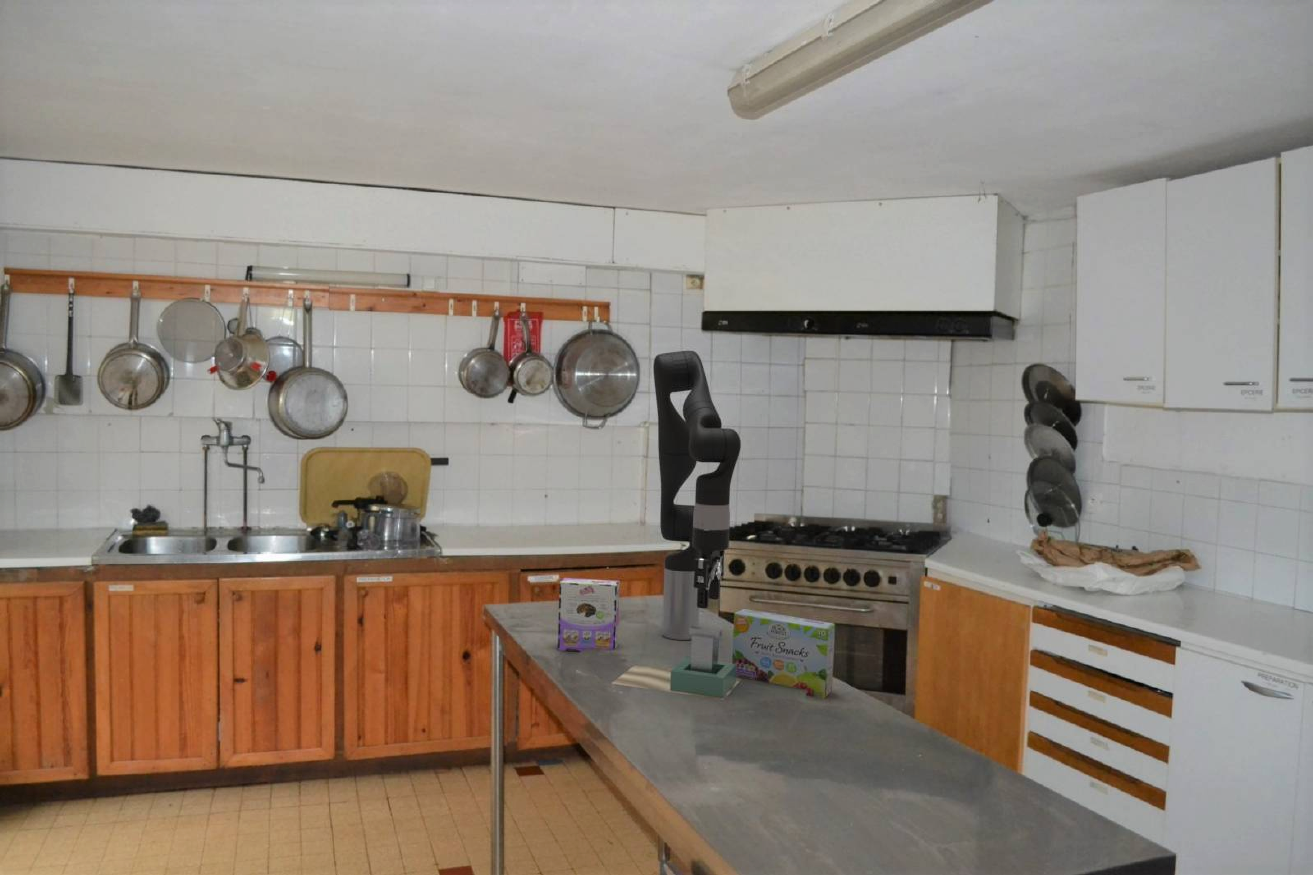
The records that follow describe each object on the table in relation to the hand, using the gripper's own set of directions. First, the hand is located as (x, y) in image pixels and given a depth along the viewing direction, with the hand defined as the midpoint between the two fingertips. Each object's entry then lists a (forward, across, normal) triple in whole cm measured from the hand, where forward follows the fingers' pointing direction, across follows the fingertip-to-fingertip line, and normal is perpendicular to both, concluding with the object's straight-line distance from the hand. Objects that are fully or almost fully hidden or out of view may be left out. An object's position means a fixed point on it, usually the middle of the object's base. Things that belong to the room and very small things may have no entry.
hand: (708, 603), depth 198 cm
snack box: (+19, -11, +14) cm, 26 cm away
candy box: (+19, -19, -34) cm, 43 cm away
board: (+19, -1, -6) cm, 20 cm away
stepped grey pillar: (+17, 0, 0) cm, 17 cm away
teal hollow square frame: (+17, 0, 0) cm, 17 cm away
